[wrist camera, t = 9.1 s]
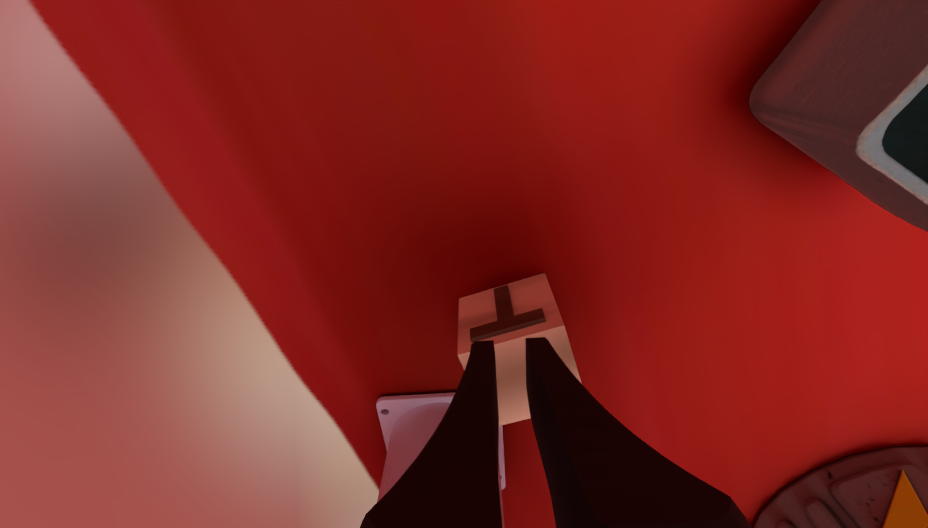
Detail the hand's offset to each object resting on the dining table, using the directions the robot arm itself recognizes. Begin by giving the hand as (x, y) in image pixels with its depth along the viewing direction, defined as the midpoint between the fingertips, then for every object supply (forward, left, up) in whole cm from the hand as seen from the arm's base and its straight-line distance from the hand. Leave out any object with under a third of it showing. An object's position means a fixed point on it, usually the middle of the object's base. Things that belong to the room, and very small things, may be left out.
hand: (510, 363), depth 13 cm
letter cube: (-5, -1, -10) cm, 11 cm away
